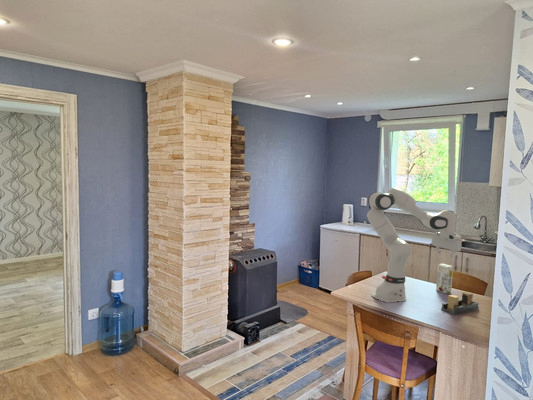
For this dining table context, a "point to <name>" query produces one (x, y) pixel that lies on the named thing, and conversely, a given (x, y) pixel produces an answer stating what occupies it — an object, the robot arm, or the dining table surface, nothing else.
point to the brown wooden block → (467, 298)
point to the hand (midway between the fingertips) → (444, 255)
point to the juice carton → (444, 278)
